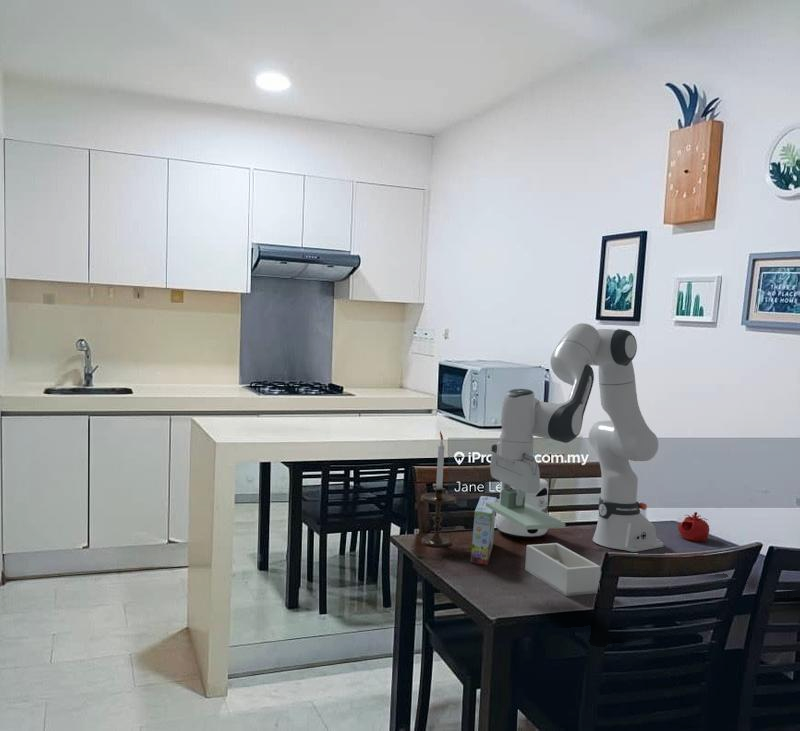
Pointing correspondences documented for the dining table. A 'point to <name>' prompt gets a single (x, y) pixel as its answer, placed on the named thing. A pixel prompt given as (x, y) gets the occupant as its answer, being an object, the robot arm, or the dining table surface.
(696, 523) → the pomegranate
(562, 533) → the dining table surface
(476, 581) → the dining table surface
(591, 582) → the tub
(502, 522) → the spotted dog treat jar
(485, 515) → the snack box
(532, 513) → the lid
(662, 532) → the dining table surface
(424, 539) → the candlestick
